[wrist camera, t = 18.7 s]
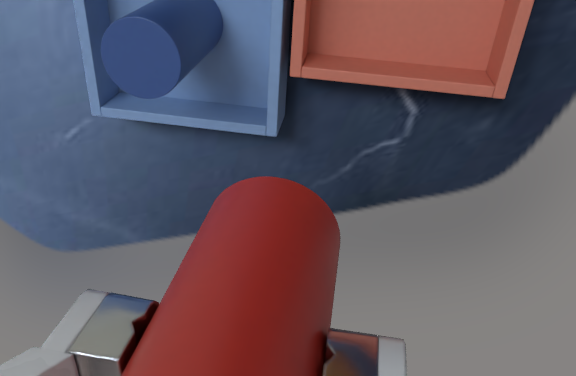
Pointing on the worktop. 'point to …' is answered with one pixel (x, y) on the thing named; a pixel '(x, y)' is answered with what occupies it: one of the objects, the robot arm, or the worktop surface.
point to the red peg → (249, 289)
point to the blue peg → (160, 45)
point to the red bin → (410, 43)
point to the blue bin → (202, 70)
